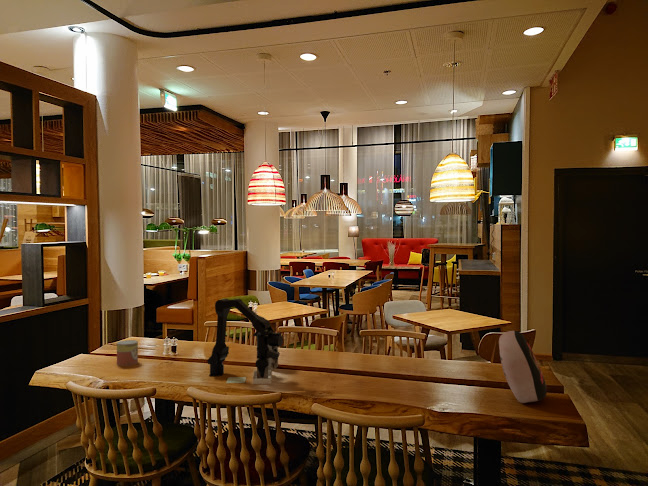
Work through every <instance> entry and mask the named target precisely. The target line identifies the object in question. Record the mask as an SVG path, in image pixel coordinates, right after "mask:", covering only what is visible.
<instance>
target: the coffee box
mask: <svg viewBox="0 0 648 486" xmlns="http://www.w3.org/2000/svg"><path fill="white" fill-rule="evenodd" d="M268 347H269V349H270V350H271V349H272V350H273V349H274V348H276V349H277V351H278V352H279V347H276V346H269V345H268ZM268 360H269V364H268V370H271V368H272V371H273V370H274V369H276V368H278V367H279V359H278V360H275V359H273V358H270V357H269V359H268Z"/></svg>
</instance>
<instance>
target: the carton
mask: <svg viewBox="0 0 648 486" xmlns="http://www.w3.org/2000/svg"><path fill="white" fill-rule="evenodd" d="M272 377H273V370H272V368H271V369H268V379H257V370H256V368H254V369H253V374H252V385H264V384H265V385H267V384H269V385H270V384H272V379H273V378H272Z"/></svg>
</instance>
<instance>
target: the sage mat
mask: <svg viewBox="0 0 648 486" xmlns="http://www.w3.org/2000/svg"><path fill="white" fill-rule="evenodd" d="M246 379H247V376H244V377H243V376H242V377H241V376H239V377H235V376H233V377H231V376H230V377H227V380H226V382H225V384H245V383H246Z"/></svg>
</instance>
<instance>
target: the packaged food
mask: <svg viewBox="0 0 648 486" xmlns="http://www.w3.org/2000/svg"><path fill="white" fill-rule="evenodd" d="M498 347H499V348H498V349H499V357H500V362H501V363H500V364H501V367H502V371H503V374H504V377H505V379H506V381H507V384H508V386H509V388H510V390H511V392H512V393H513V395H514V397H515V399H516V400H517V401H518V402H519V403H520V404H526V403H533V402H538V401H541V400H543V399H544V398H546V396H547V393H548V387H547V383H546V380H545V377H544V375H543V371H542V369H541V367H540V364H539V361H538V360H537V358H536V355H535V354H534V351H533V349H532V348H531V345H530V344H529V342H528V341H527V339H526V336H524V334H523V333H522V332H521V331H518V330H508V331H505V332H504V333H502V334H501V335H500V336H499V339H498Z"/></svg>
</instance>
